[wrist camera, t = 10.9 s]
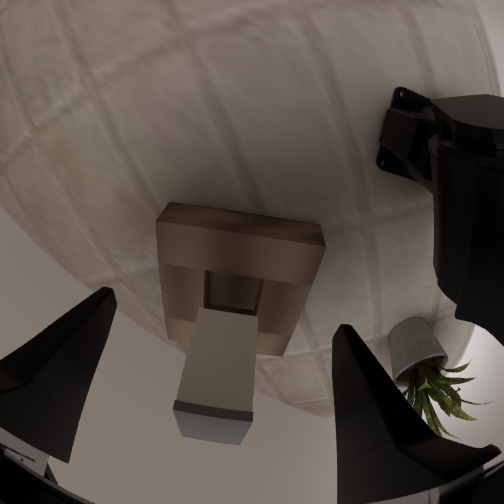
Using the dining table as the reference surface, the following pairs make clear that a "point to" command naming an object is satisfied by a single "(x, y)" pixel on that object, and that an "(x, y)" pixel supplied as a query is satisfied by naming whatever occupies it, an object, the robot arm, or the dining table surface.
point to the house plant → (424, 371)
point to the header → (236, 269)
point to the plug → (218, 378)
